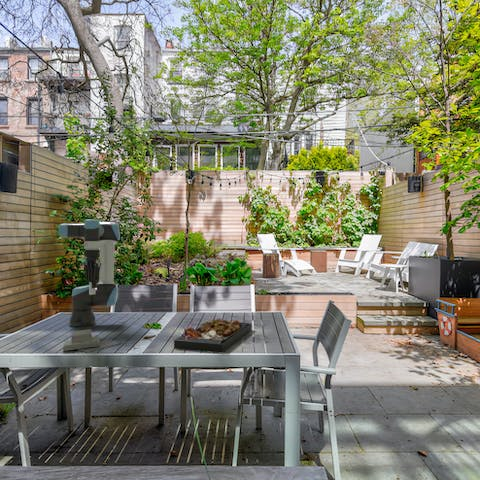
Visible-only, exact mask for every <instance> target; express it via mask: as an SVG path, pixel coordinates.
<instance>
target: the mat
mask: <svg viewBox="0 0 480 480" xmlns="http://www.w3.org/2000/svg"><path fill="white" fill-rule="evenodd" d="M117 344H118V345H120V344H122V343H121V342H118V341H114V340H111V339H107V340H102V341H100V345H99V346H96V347H89V348H82V349H77V350H76V351H80V352H83V351H84V353H91V351H92V352H95V350H96V351H99V350H102V348H103V349H106V347H107V348H109V347H113V346H117ZM98 349H99V350H98Z"/></svg>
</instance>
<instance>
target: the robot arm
mask: <svg viewBox="0 0 480 480" xmlns="http://www.w3.org/2000/svg"><path fill="white" fill-rule="evenodd" d="M58 236H59V237H60V238H63V239H64V238H65V239H69V238H70V239H73V238H74V239H75V238H77V239H79V238H80V239H83V241H84V243H83V248H84V251H83V252H84V253H83V257H85V261H83V262H82V264H83V267H84V275H85V280H86V281H87V282H88V285H82V286H77V287H75V288H73V289H72V292H71V315H70V317H69V321H68V326H69V327H87V326H92V325H95V324H96V323H97V321H96V320H97V319H96V317H95V314H94V311H93V308H94V307H112V306H115V305H116V304H117V302H118V298H119V287H118V286H117V284H116V282H115V281H114V279H115V277H114V276H115V247H116V245H117V244H118V241H120V240H121V231H120V226H119V224H118V223H117V222H111V221H108V222H107V221H105V222H104V221H103V222H102V221H100V220H99V219H84V221H83V223H60V224H59V226H58Z"/></svg>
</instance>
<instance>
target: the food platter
mask: <svg viewBox="0 0 480 480" xmlns="http://www.w3.org/2000/svg"><path fill="white" fill-rule="evenodd" d="M182 327H183V330H184V331H183V334H182V335H181V336H178V338H176V339H174V340H173V349H177V348H178V349H180V350H189V351H198V350H200V351H201V352H208V351H210V352H209V353H219V352H223V353H224V352H226V351H227V350H229V349H230V348H231V347H232V346H234V345H235V344H236V343H238V341H240V340H241V339H242V338H243V337H245V336H246V335H248V334H249V333H250V332H251V331H252V323H250V322H249V323H248V322H241V321H239V320H238V319H236V320H234V321H228V320H226V319H224V320H222V319H221V318H217V319H212V320H210V321H205V322H202V325H200V326H198V327H197V328H193V326H189V327H188V328H185V326H184V325H182ZM225 350H226V351H225ZM200 351H199V352H200Z"/></svg>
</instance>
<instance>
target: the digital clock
mask: <svg viewBox="0 0 480 480" xmlns="http://www.w3.org/2000/svg"><path fill="white" fill-rule="evenodd" d="M92 334H93V333H92V329H91V328H90V329H82V330H74V331H71V339H69V340H65V341H64V343H63V345H62V349H63V350H64V351H66V352H67V351H73V350H75V351H76V349H82V348H89V347H96V346H99V345H100V342H101V341H100V337H98V336H93V335H92ZM92 336H93V337H92Z"/></svg>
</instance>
